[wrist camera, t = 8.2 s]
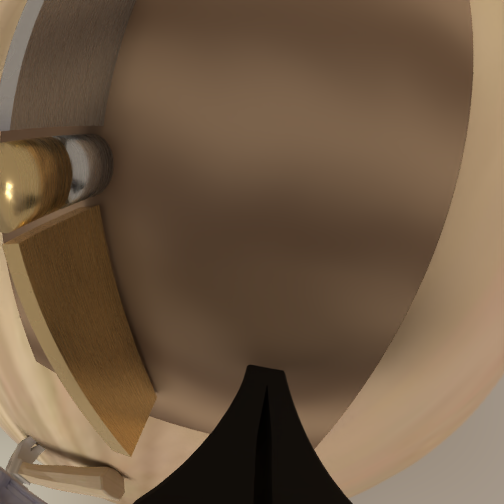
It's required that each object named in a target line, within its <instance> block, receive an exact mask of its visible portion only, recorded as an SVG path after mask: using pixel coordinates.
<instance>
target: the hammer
mask: <svg viewBox="0 0 504 504" xmlns="http://www.w3.org/2000/svg"><path fill="white" fill-rule="evenodd" d="M35 443H36V441H35V440H34V439H33V438H32V437H31V436H29V437H27V438H25V439H24V440H22V441H21V442H20V443H19V444H18V446H17V448H16V450H15V451H14V453H13V454H12V456H11V458H10V460H9V463H8V465H7V467H6V471H7V472H8V473H9V474H10V475H12V476H13V477H14V478H15V479H16V480H18V481H19V482H20V483H21V484H23V483H25V484H28V485H30V483H33V484H38V485H42V486H45V487H48V488H52V489H56V490H61V491H66V492H72V493H78V494H85V495H91V496H95V497H100V498H105V499H111V500H117V501H120V499H121V498H122V496H123V494H124V493H125V489H124V478H123V477H122V476H121V475H120V474H119V473H118V472H117V471H116V470H115V469H113V468H110V467H74V466H65V465H64V466H59V465H38V464H33V462H34V461H35V460H36V459H37V458H38V456H39V455H40V454H41V453H42V452H43V451H44V450H45V449H44V448H43V447H42V446H40V445H37V446H35V447H33V448H31V447H32V446H33V445H34V444H35Z"/></svg>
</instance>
